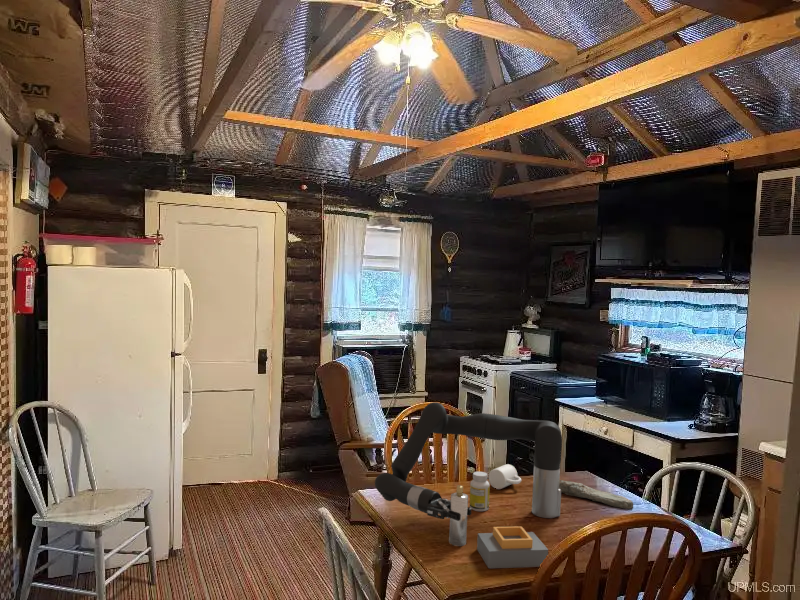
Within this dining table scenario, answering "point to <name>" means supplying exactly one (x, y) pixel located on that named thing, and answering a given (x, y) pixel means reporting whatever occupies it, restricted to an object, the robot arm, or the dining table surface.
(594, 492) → the elongated rock
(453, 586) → the dining table surface
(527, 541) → the grey base with frame
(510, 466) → the mug
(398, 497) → the robot arm
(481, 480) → the supplement bottle
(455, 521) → the gold capped bottle
